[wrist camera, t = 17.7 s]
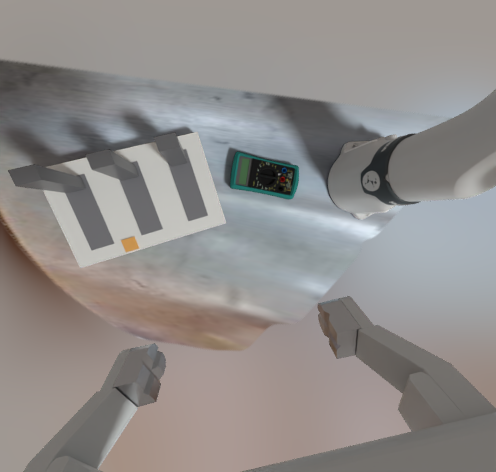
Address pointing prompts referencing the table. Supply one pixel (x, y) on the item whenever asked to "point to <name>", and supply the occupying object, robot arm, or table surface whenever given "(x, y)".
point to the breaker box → (136, 203)
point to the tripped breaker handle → (112, 165)
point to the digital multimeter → (264, 176)
